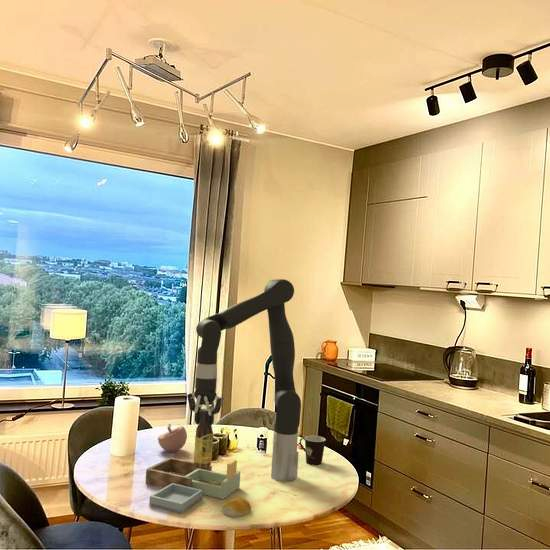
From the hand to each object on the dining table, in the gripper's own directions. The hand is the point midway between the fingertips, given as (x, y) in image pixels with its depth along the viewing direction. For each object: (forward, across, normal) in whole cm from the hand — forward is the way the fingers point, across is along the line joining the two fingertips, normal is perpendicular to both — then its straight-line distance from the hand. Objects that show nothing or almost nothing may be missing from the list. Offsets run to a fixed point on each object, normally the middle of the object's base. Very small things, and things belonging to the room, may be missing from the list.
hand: (203, 424), depth 185 cm
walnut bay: (+22, +9, 0) cm, 24 cm away
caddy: (+22, -4, 0) cm, 22 cm away
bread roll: (+22, -20, +12) cm, 32 cm away
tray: (+22, 0, +16) cm, 27 cm away
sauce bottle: (+15, 0, 0) cm, 15 cm away
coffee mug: (+23, -26, -47) cm, 58 cm away
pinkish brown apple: (+22, +30, -27) cm, 46 cm away
